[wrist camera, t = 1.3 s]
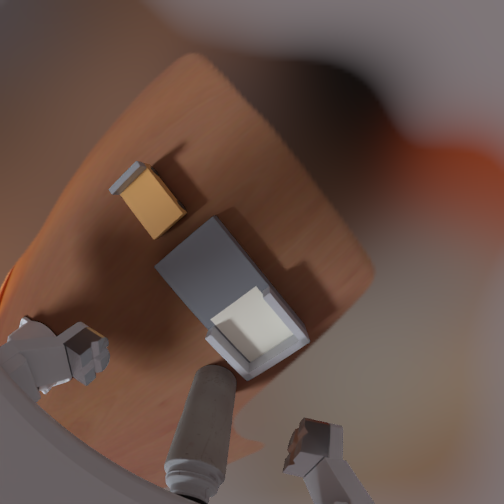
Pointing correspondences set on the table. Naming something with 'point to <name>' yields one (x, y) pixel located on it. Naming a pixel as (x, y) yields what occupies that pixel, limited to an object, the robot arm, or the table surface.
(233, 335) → the dock
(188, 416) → the thermos bottle
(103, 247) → the table surface
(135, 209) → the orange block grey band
